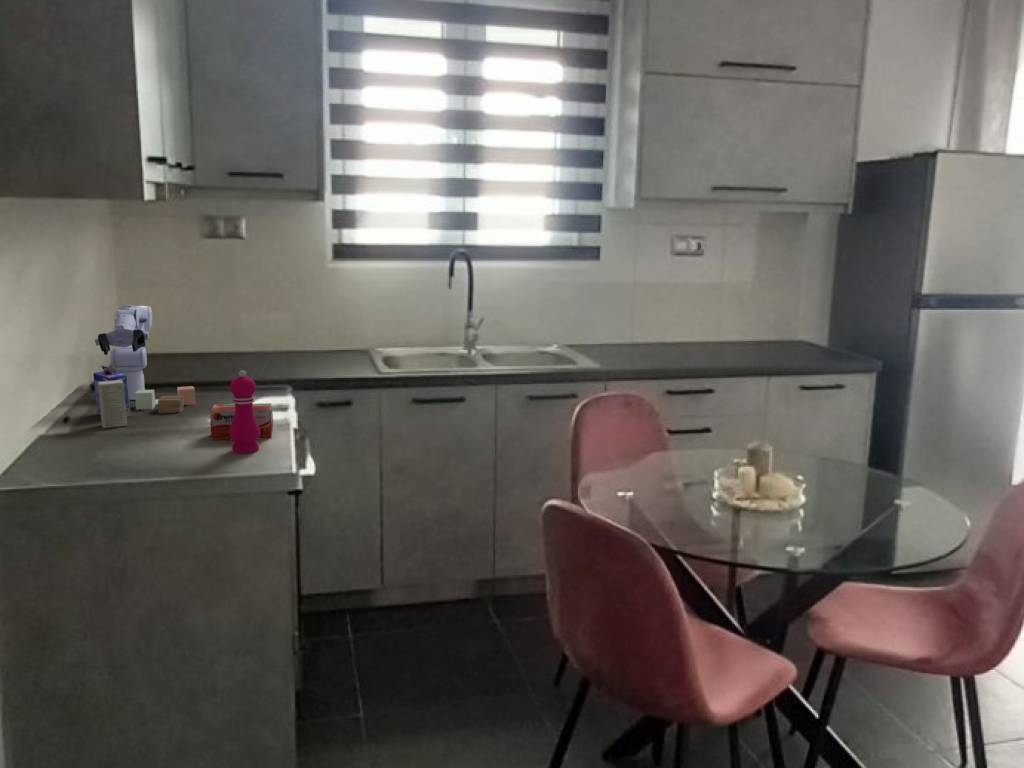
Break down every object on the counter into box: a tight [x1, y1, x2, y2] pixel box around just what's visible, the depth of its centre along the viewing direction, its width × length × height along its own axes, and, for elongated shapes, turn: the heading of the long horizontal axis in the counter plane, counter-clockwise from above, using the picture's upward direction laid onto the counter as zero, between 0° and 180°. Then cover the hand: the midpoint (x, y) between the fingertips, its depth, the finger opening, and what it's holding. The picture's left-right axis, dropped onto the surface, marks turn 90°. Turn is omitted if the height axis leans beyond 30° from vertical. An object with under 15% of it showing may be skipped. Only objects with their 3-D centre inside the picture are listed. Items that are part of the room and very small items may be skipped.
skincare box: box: [98, 380, 128, 429], centre depth 234 cm, size 6×4×12 cm
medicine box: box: [209, 402, 274, 441], centre depth 227 cm, size 15×8×8 cm, turn 103°
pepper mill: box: [229, 369, 260, 454], centre depth 212 cm, size 7×7×20 cm
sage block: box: [135, 389, 156, 410], centre depth 257 cm, size 4×4×5 cm
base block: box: [157, 395, 185, 414], centre depth 254 cm, size 6×6×4 cm
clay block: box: [177, 385, 197, 406], centre depth 263 cm, size 4×4×5 cm
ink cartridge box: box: [92, 365, 131, 418], centre depth 246 cm, size 10×6×14 cm, turn 51°
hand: (119, 350), depth 248 cm, fingers open, 7 cm apart
